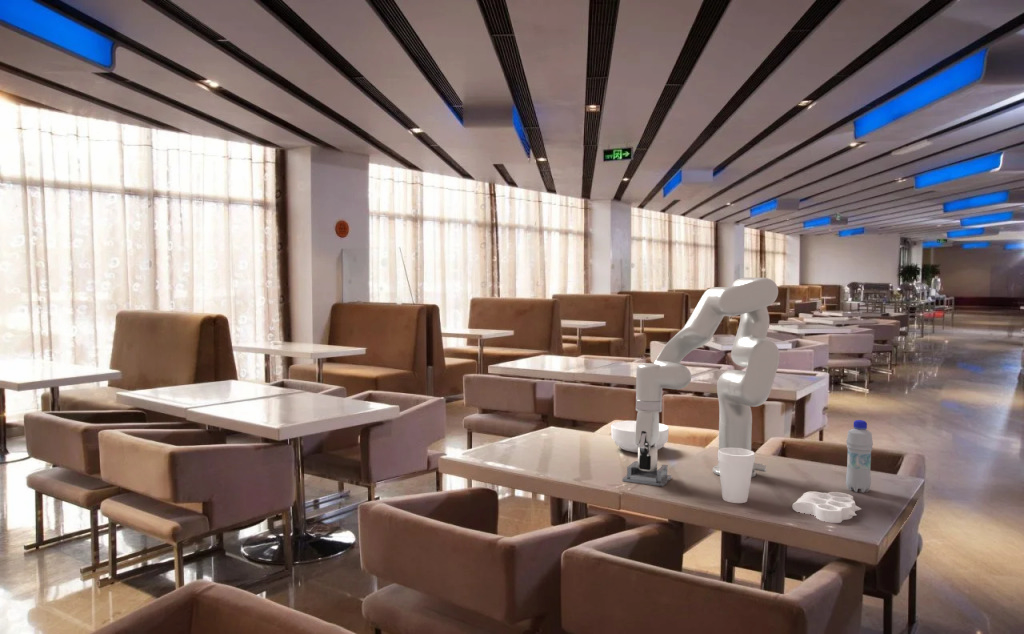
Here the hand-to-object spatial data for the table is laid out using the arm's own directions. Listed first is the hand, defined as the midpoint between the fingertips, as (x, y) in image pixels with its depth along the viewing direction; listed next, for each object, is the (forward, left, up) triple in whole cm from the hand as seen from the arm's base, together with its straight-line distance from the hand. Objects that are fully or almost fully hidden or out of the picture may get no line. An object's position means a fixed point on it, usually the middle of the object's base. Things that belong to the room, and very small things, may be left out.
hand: (647, 466), depth 207 cm
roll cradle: (0, 0, -4) cm, 4 cm away
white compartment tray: (-49, +7, -5) cm, 50 cm away
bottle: (-56, -17, -4) cm, 59 cm away
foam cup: (-26, +8, -4) cm, 28 cm away
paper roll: (0, 0, -1) cm, 1 cm away
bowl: (+12, -35, -4) cm, 37 cm away
